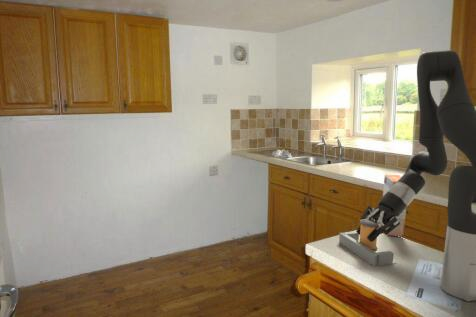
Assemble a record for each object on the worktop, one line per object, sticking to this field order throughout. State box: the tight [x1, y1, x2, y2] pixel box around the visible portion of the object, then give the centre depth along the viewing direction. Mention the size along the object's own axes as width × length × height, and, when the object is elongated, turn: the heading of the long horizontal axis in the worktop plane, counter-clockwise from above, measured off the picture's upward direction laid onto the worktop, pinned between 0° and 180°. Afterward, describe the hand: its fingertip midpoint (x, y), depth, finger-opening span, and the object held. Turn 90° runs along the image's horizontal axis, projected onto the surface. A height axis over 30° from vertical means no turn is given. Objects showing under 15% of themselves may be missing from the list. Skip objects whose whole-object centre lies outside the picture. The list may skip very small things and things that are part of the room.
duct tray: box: [338, 230, 397, 267], centre depth 112 cm, size 19×8×4 cm, turn 16°
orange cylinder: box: [359, 218, 378, 252], centre depth 112 cm, size 6×6×9 cm
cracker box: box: [382, 174, 407, 238], centre depth 132 cm, size 14×6×21 cm, turn 168°
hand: (363, 236), depth 112 cm, fingers closed on orange cylinder, 5 cm apart
